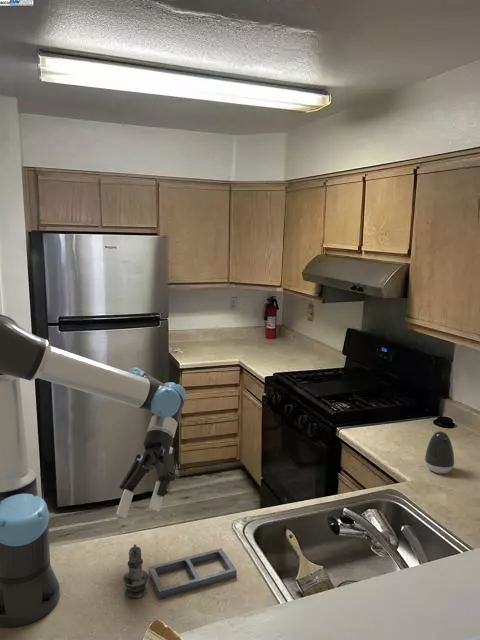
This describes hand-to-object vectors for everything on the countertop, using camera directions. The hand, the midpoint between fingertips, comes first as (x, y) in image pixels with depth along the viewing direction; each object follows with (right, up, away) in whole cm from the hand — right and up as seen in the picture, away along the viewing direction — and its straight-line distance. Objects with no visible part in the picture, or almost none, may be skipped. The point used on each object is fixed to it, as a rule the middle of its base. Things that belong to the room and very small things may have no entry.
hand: (136, 513), depth 118 cm
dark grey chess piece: (+1, -17, -5) cm, 17 cm away
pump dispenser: (+100, -9, +62) cm, 118 cm away
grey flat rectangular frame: (+14, -16, +1) cm, 21 cm away
